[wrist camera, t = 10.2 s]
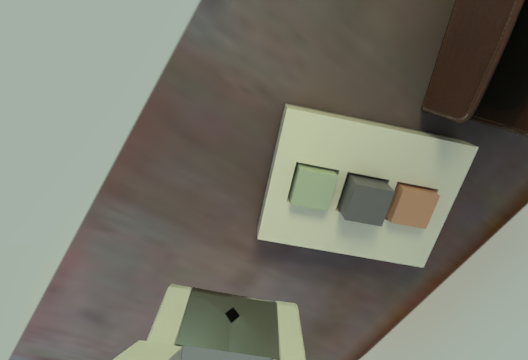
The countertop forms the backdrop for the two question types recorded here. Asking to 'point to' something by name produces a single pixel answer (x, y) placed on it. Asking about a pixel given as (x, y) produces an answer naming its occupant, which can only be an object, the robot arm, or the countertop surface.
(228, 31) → the countertop surface
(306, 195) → the sage key
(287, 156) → the cream key base
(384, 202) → the charcoal key
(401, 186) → the terracotta key
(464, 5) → the letter holder
